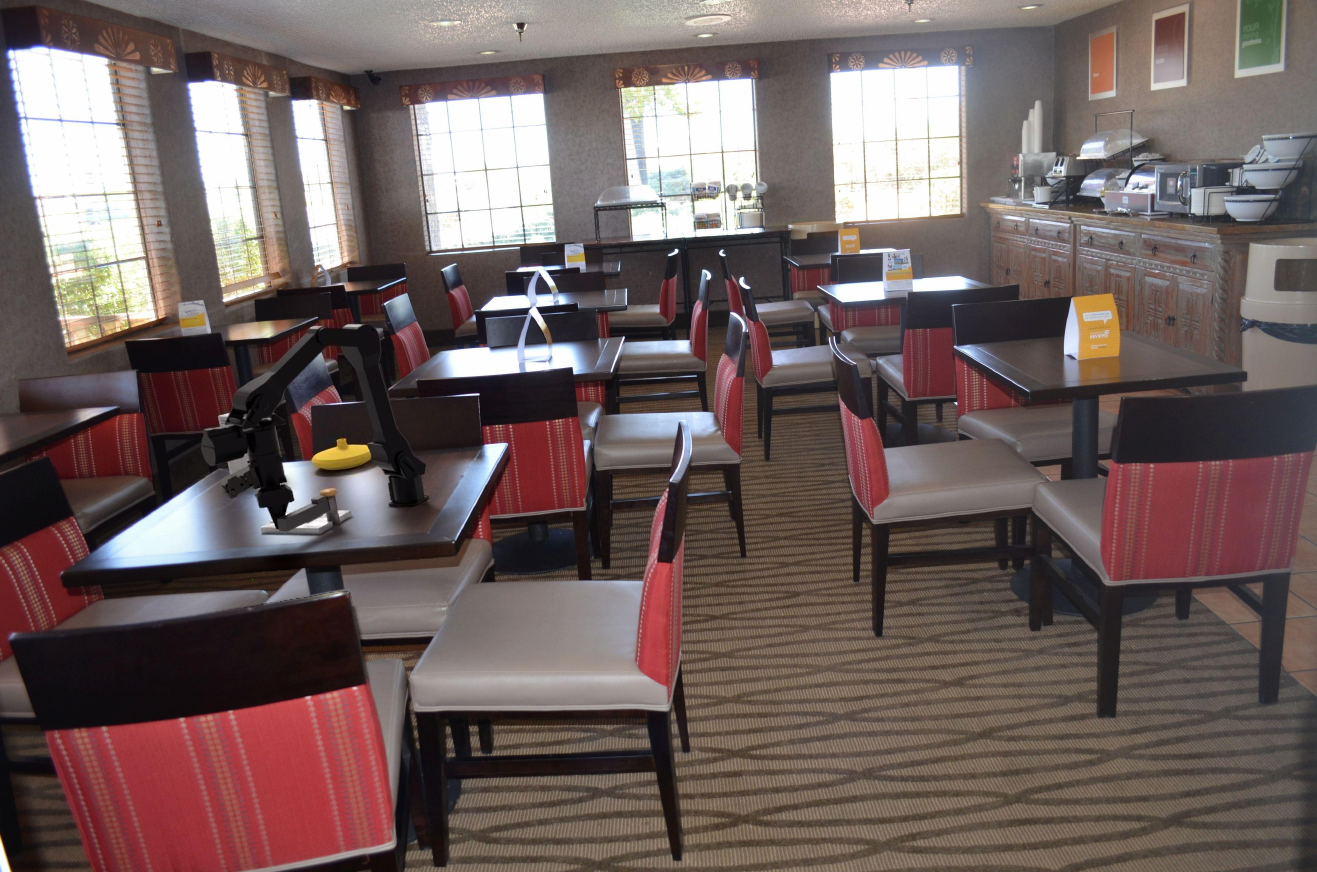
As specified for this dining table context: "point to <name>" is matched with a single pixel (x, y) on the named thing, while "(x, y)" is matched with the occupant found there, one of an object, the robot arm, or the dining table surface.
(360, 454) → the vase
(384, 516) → the dining table surface
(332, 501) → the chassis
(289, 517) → the bar
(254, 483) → the robot arm
